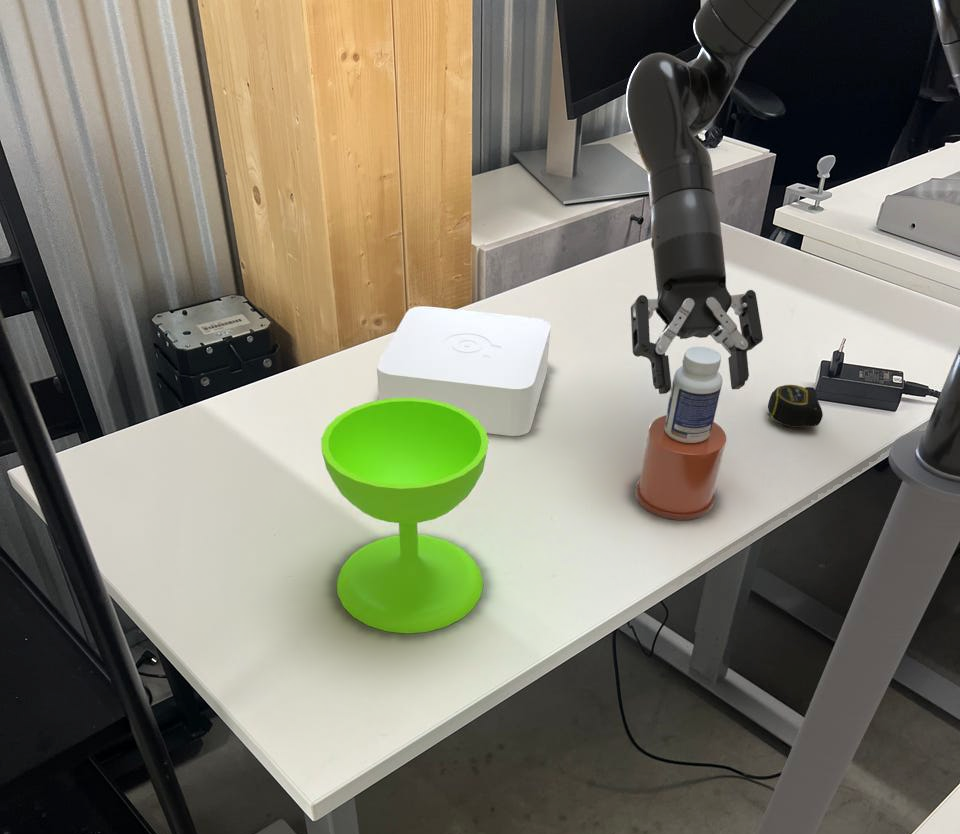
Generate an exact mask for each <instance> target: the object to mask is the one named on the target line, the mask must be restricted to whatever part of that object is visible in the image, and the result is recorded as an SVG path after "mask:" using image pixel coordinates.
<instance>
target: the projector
mask: <svg viewBox="0 0 960 834" xmlns="http://www.w3.org/2000/svg"><path fill="white" fill-rule="evenodd" d="M550 337H551V324H550V323H549V321H546V320H545V319H542V318H537V317H530V316H521V315H511V314H504V313H503V314H502V313H494V312H493V313H492V312H485V311H472V310H464V309H456V308H455V309H454V308H445V307H438V306H429V305H428V306H426V305H425V306H424V305H423V306H421V305H419V306H414V307H410V308H409V309H408V310H407V311H406V313H405V315H404V316H403V317H402V320H401V321H400V323H399V325H398V326H397V328H396V330H395V331H394V333H393V336H392V338H391V339H390V340H389V342H388V344H387V346H386V348H385V350H384V351H383V353H382V355H381V357H380V359H379V360H378V362H377V364H376V376H377V377H376V379H377V395H378V400H384V399H390V398H419V399H430V400H434V401H438V402H443V403H447V404H450V405H452V406H455V407H457V408H459V409H462V410H464V411H466V412H467V413H469V414H470V415H471V416H473V417H474V418H476V419H477V420H478V421H479V422H480V424H481V425H482V426H483V428H484V429H485V430H486V434H492V435H497V436H498V435H499V436H508V437H519V436H524V435H527V434H528V433H529V432H531V429H532V426H533V422H534V419H535V415H536V412H537V409H538V405H539V401H540V398H541V394H542V391H543V388H544V383H545V380H546V376H547V373H548V364H549V363H548V361H549V350H550Z"/></svg>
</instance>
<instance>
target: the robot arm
mask: <svg viewBox="0 0 960 834" xmlns="http://www.w3.org/2000/svg"><path fill="white" fill-rule="evenodd" d="M796 2H797V0H705V2H704V3H703V4H702V6H701V7H700V9H699V10H698V13H697V14H696V15H695V18H694V20H693V33H694V35H695V38H696V40H697V42H698V43H699V44H700V46H701V49H700V52H699V54H698V56H697V57H696V59H695V60H694V62H693V63H691V64H690V63H688V62H686V61H683V60H681V59H680V58H677V57H676V56H674V55H673V54H669V53H666V52H655V53H650V54H648V55H647V56H644V57H643V58H641V60H640V61H639V62H638V63H637V65H636V66H635V67H634V68H633V71H632V73H631V75H630V77H629V80H628V83H627V88H626V97H625V98H626V99H625V102H626V103H625V104H626V113H627V114H626V115H627V118H628V119H627V120H628V123H629V126H630V129H631V133H632V136H633V139H634V141H635V144H636V148H637V150H638V154H639V156H640V159H641V161H642V164H643V166H644V169H645V171H646V173H647V181H648V182H647V183H648V195H649V204H650V215H651V218H650V219H651V220H650V233H651V234H650V235H651V241H650V244H651V245H650V246H651V248H652V256H653V263H654V264H653V266H654V273H655V283H656V291H657V298H655V299H654V298H648V297H647V296H646V295H644V294H640V295H639V296H638V297H637V298H636V299H635V300H634V302H633V303H632V304H631V306H630V325H631V328H630V329H631V349H632V355H633V356H635V357H636V358H637V357H638V358H639V357H644V358H646V359H647V360H649V361H650V367H651V375H652V376H651V379H652V386H653V388H654V389H655V390H658V394H659V395H666V394H668V393H669V392H671V388H672V380H671V370H670V369H671V368H670V359H669V355H667V354H666V352H667V351H668V349H669V347H670V345H671V344H672V342H674V341H673V340H674V339H675V338H676V337H679V340H685V339H686V340H687V339H689V338H692V337H694V338H698V339H699V338H700V339H703V338H704V339H705V338H708V337H709V336H710V337H711V338H712V339H713V340H714V341H715V342H716V343H717V344H720V345H721V346H722V347H723V348H724V349H725V351H727V353H728V354H729V355H730V356H728V358H727V360H728V369H729V379H730V388H731V390H740V389H741V388H743V387H745V384H746V382H747V381H748V380H749V377H750V372H749V362H748V351H752V350H753V349H754V348H755V347H757V345H759V344H760V343H762V342H763V340H764V336H763V329H762V324H761V323H762V322H761V317H760V311H759V304H758V299H757V293H756V292H755V290H753V289H748V290H747V291H746V292H744V293H740V294H732V295H731V293H730V292H729V290H728V289H727V274H726V264H725V263H726V262H725V253H724V243H723V235H722V225H721V224H722V223H721V217H720V212H719V207H718V205H717V199H716V192H715V182H714V181H715V180H714V173H713V172H714V171H713V164H712V163H713V162H712V158H711V155H710V153H709V150H708V149H707V148H706V146H705V145H704V144H703V143H702V142H701V141H699V139H697V138H696V136H698V135H699V134H701V133H702V132H703V131H705V130H706V129H707V128H708V127H710V125H711V124H712V123H713V121H714V120H715V119H716V117H717V116H718V114H719V113H720V111H721V109H722V107H723V105H724V104H725V102H726V100H727V98H728V96H729V94H730V93H731V91H732V89H733V87H734V85H735V83H736V81H737V80H738V78H739V76H740V74H741V73H742V70H743V69H744V66H745V65H746V62H747V60H748V58H749V57H750V56H751V55H752V54H753V53H754V52H755V50H756V49H757V48H758V47H759V46H760V45H761V43H762V42H764V40H765V39H766V38H767V37H768V35H769V34H770V33H771V32H772V31H773V29H775V27H776V26H777V24H778V23H779V22H781V20H782V19H783V18H784V16H785V15H786V14H787V13H788V12H789V10H790V9H791V8H792V6H793V5H794V4H795V3H796ZM930 2H931V6H932V10H933V16H934V20H935V25H936V28H937V32H938V36H939V39H940V43H941V46H942V49H943V52H944V55H945V57H946V62H947V64H948V67H949V71H950V73H951V78H952V79H953V82H954V85H955V87H956V89H957V92H958V94H959V95H960V0H931V1H930ZM730 308H731V309H732V310H733V312H734V315H736V316H738V320H739V327H740V331H739V330H738V325H737V324H736V322H735V321H733V319H732V318H731V317H730V316H729V314H728V311H729V310H730ZM654 312H656V315H658V317H659V318H660V319H661V320H662V322H664V324H665V326H664V328H663V329H662V330H661V332H660V334H659V335H658V337H657V339H656V341H655V343H654V342H652V341H651V339H650V335H651V334H650V319H651V318H652V317H653V315H654ZM928 419H929V420H928V422H927V424H926V427H925V430H924V431H925V432H924V434H923V436H922V438H921V440H920V443H919V445H918V446H917V449H916V451H915V458H916V460H917V462H918V463H919V464H920V465H921V466H922V467H923V468H924V469H925V470H927V471H928V472H930V473H932V474H934V475H936V476H938V477H941V478H943V479H946V480H950V481H954V482H959V483H960V346H959V347H958V350H957V352H956V355H955V357H954V359H953V362H952V364H951V366H950V369H949V372H948V373H947V376H946V379H945V382H944V383H943V385H942V388H941V391H940V393H939V395H938V398H937V401H936V402H935V405H934V407H933V410H932V412H931V415H930V417H929V418H928Z"/></svg>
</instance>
